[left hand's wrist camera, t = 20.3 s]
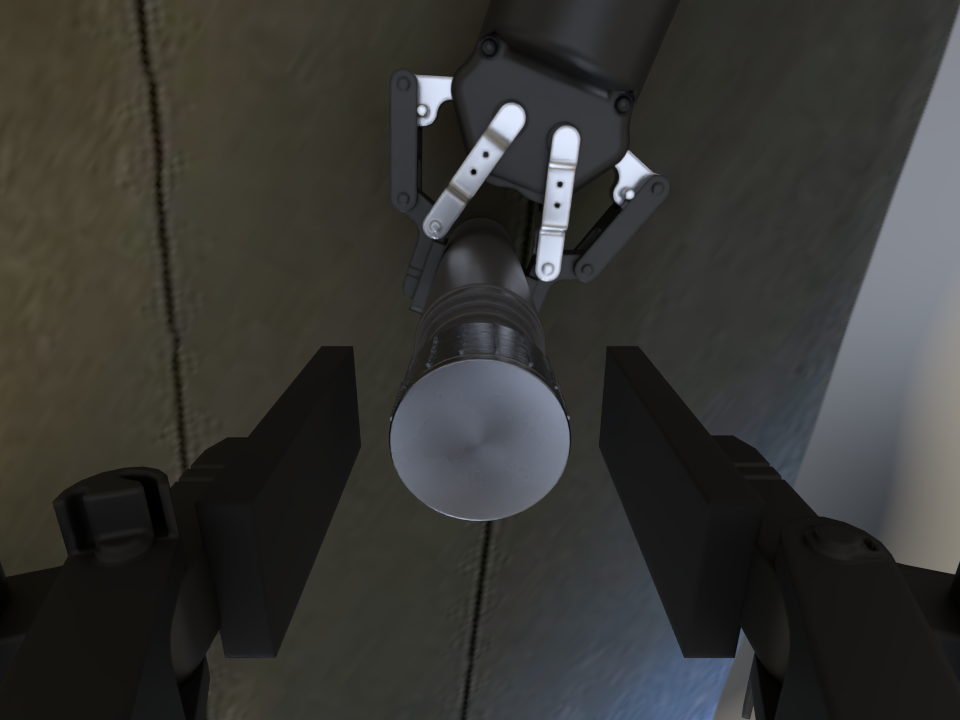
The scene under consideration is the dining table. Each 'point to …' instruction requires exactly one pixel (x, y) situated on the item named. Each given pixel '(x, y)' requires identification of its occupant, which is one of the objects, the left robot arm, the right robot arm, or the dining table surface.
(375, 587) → the dining table surface
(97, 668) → the left robot arm
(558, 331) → the dining table surface
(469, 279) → the dark grey cylinder
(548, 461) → the cap
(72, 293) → the dining table surface
